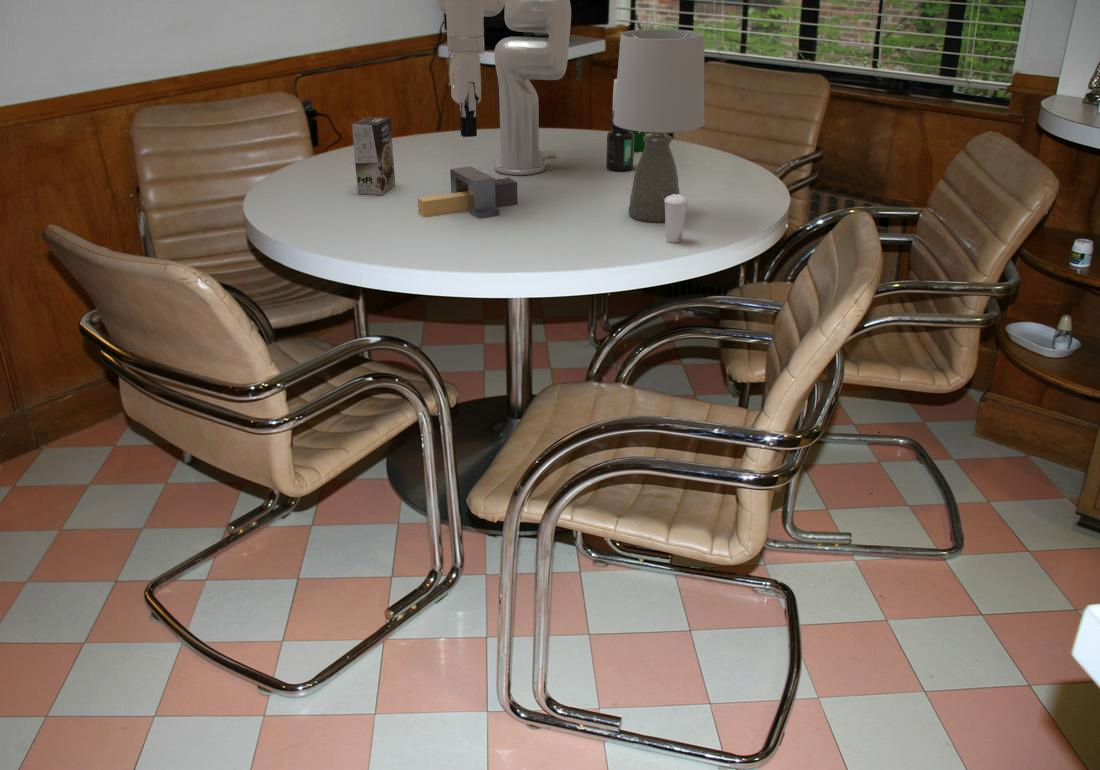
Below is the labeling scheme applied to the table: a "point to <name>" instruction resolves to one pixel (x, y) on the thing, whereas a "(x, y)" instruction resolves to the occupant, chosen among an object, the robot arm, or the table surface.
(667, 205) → the milkshake
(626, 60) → the lamp
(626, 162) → the supplement bottle
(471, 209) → the housing
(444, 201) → the plug
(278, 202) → the table surface
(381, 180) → the coffee box
